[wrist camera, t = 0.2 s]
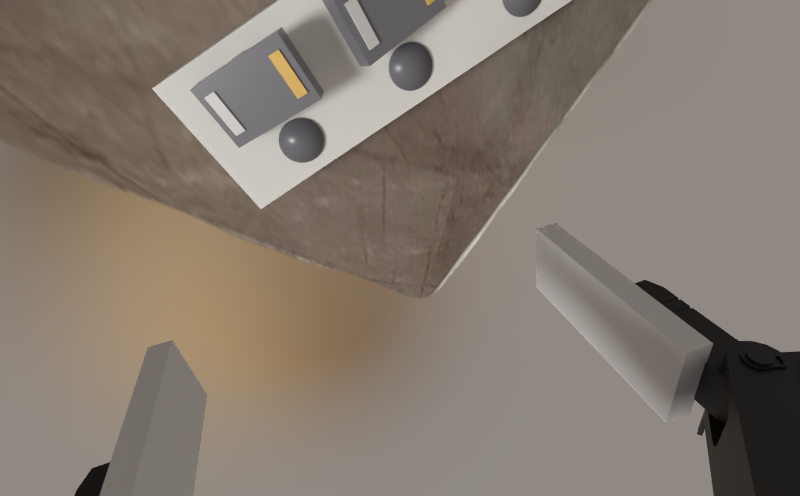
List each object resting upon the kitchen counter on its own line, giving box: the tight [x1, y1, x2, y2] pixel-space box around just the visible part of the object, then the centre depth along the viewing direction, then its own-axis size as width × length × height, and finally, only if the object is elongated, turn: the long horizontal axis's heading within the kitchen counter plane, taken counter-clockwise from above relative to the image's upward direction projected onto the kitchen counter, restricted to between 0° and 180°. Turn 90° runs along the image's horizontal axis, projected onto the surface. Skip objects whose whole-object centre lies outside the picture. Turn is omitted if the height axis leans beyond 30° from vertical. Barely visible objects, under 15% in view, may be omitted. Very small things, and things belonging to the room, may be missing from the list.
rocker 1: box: [190, 27, 324, 148], centre depth 28 cm, size 5×7×2 cm, turn 120°
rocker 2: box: [322, 0, 447, 66], centre depth 28 cm, size 5×7×2 cm, turn 120°
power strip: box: [152, 0, 572, 209], centre depth 32 cm, size 11×32×6 cm, turn 120°
